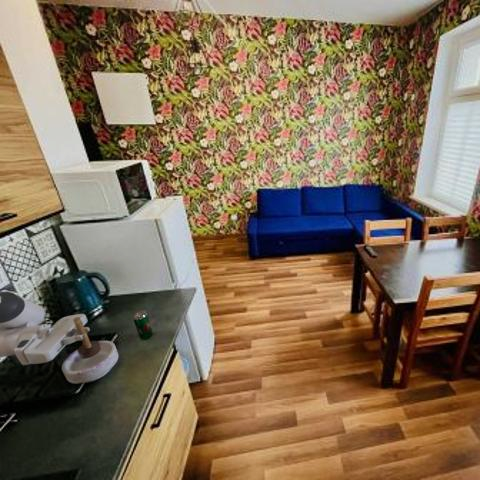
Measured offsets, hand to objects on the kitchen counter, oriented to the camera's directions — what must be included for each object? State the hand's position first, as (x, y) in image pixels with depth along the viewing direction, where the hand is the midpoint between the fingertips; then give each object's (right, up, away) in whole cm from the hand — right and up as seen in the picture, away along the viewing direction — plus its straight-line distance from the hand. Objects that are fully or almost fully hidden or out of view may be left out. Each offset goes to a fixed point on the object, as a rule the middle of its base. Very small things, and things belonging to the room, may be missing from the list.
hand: (85, 333), depth 93 cm
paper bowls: (-1, -17, +6) cm, 18 cm away
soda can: (+6, -10, +23) cm, 26 cm away
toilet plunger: (-1, -8, +3) cm, 9 cm away
